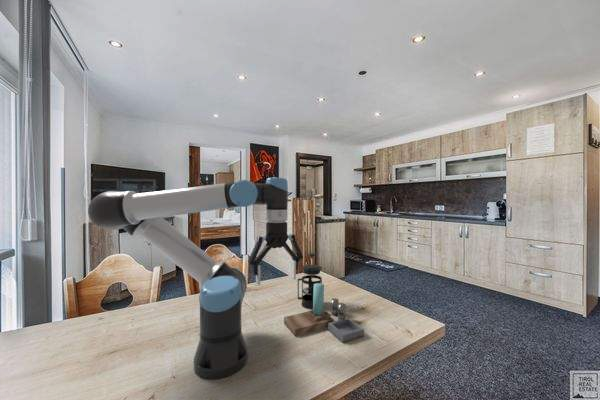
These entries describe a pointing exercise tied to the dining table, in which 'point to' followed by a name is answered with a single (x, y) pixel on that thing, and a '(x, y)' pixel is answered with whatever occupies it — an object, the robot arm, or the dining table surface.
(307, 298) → the french press
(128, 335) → the dining table surface
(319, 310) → the dowel
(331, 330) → the tray
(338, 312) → the bench dogs
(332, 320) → the brown flat block
